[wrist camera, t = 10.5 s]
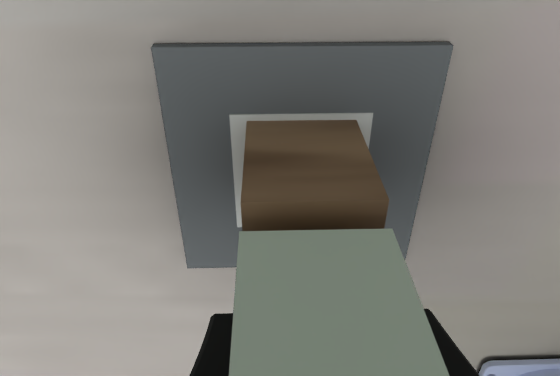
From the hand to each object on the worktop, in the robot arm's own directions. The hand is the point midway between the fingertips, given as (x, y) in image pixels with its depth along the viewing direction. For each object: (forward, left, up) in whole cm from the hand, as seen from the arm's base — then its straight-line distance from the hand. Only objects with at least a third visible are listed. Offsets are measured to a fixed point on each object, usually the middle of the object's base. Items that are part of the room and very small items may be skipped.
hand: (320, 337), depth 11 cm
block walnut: (0, 0, -8) cm, 8 cm away
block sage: (0, 0, -2) cm, 2 cm away
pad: (0, 0, -8) cm, 8 cm away
